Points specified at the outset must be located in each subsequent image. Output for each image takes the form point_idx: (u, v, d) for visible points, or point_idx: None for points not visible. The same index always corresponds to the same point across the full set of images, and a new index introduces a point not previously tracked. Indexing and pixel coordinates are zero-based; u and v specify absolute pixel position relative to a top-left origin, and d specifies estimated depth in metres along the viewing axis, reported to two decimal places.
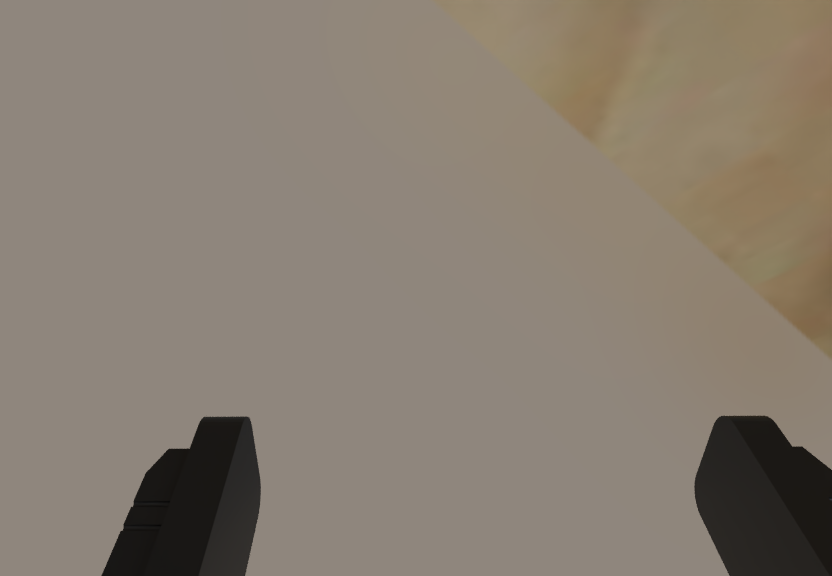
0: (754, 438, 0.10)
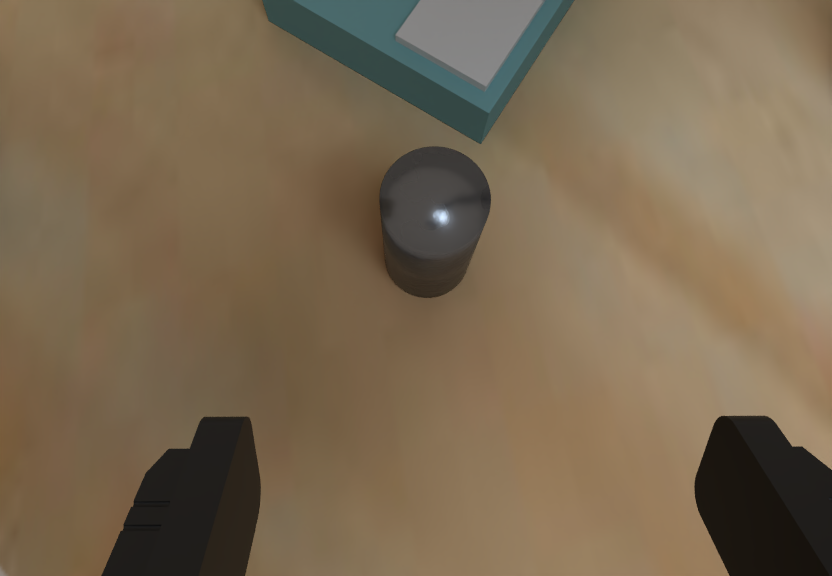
0: (754, 438, 0.10)
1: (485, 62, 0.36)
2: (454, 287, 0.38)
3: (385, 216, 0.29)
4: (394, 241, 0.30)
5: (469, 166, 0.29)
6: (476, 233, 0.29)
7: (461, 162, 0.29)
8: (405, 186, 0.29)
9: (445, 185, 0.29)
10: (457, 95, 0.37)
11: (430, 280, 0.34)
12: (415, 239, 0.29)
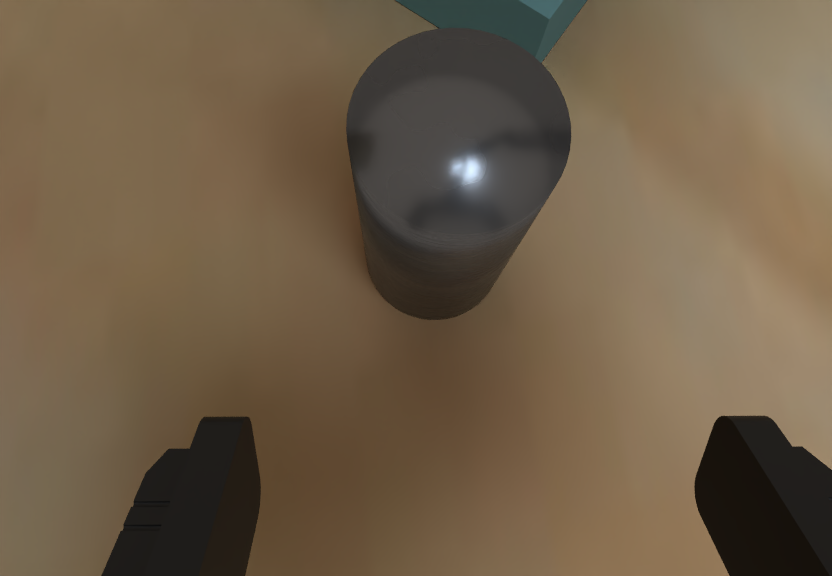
0: (754, 438, 0.10)
1: None
2: (475, 305, 0.23)
3: (355, 158, 0.14)
4: (373, 211, 0.15)
5: (530, 69, 0.15)
6: (540, 201, 0.14)
7: (514, 60, 0.15)
8: (400, 100, 0.14)
9: (481, 102, 0.14)
10: None
11: (438, 291, 0.19)
12: (416, 205, 0.14)
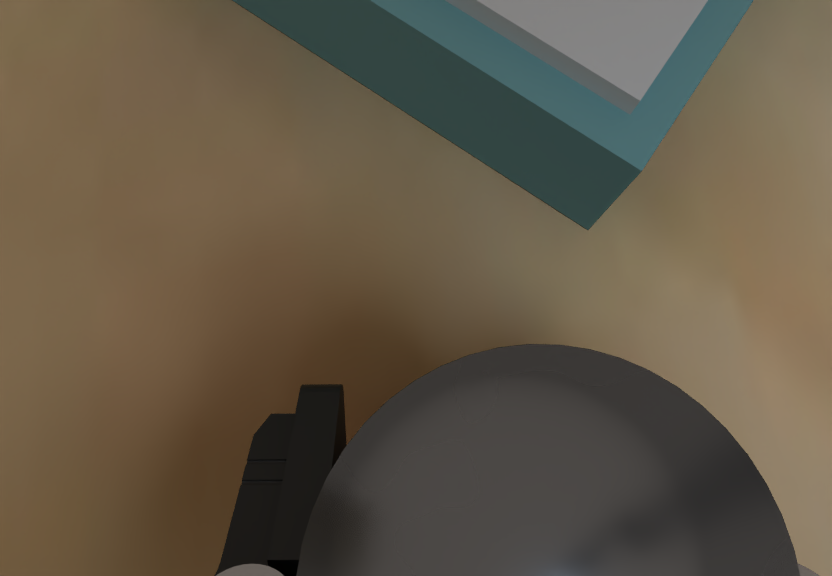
0: None
1: (638, 37, 0.14)
2: None
3: None
4: None
5: (702, 444, 0.07)
6: None
7: (667, 423, 0.07)
8: (418, 532, 0.06)
9: (599, 531, 0.06)
10: (559, 120, 0.14)
11: None
12: None
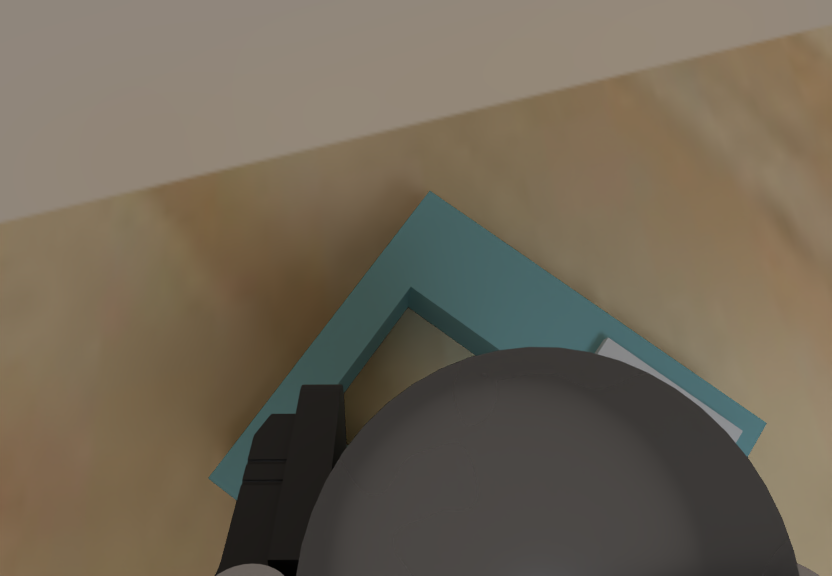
0: None
1: None
2: None
3: None
4: None
5: (702, 447, 0.07)
6: None
7: (667, 426, 0.07)
8: (418, 535, 0.06)
9: (598, 534, 0.06)
10: None
11: None
12: None
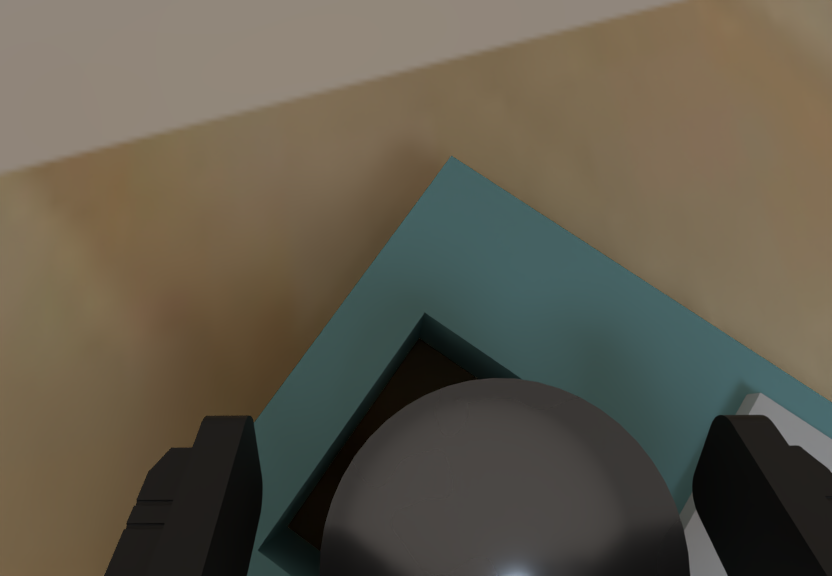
0: (751, 437, 0.10)
1: None
2: None
3: None
4: None
5: (618, 452, 0.09)
6: None
7: (592, 437, 0.09)
8: (408, 516, 0.09)
9: (541, 516, 0.09)
10: None
11: None
12: None
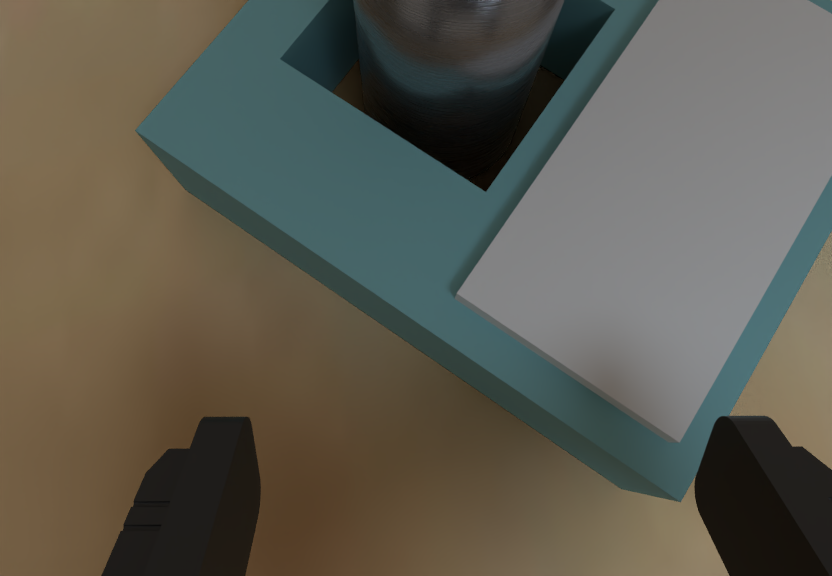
0: (754, 438, 0.10)
1: (677, 374, 0.15)
2: (489, 165, 0.21)
3: None
4: None
5: None
6: None
7: None
8: None
9: None
10: (601, 448, 0.15)
11: (449, 113, 0.16)
12: None
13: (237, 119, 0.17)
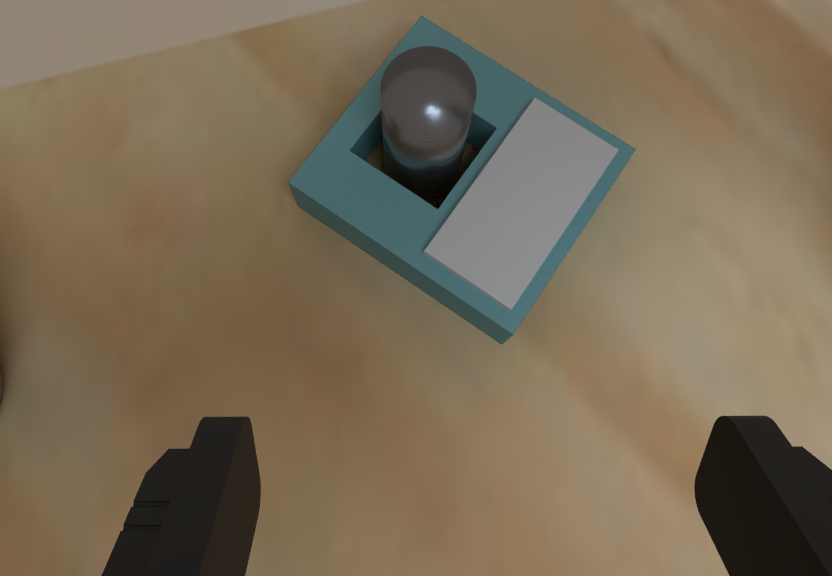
0: (754, 438, 0.10)
1: (512, 283, 0.37)
2: (444, 194, 0.43)
3: (384, 101, 0.33)
4: (391, 126, 0.34)
5: (459, 64, 0.34)
6: (462, 119, 0.33)
7: (452, 60, 0.34)
8: (403, 77, 0.34)
9: (438, 78, 0.34)
10: (482, 313, 0.37)
11: (422, 175, 0.38)
12: (410, 121, 0.33)
13: (331, 177, 0.39)
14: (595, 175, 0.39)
